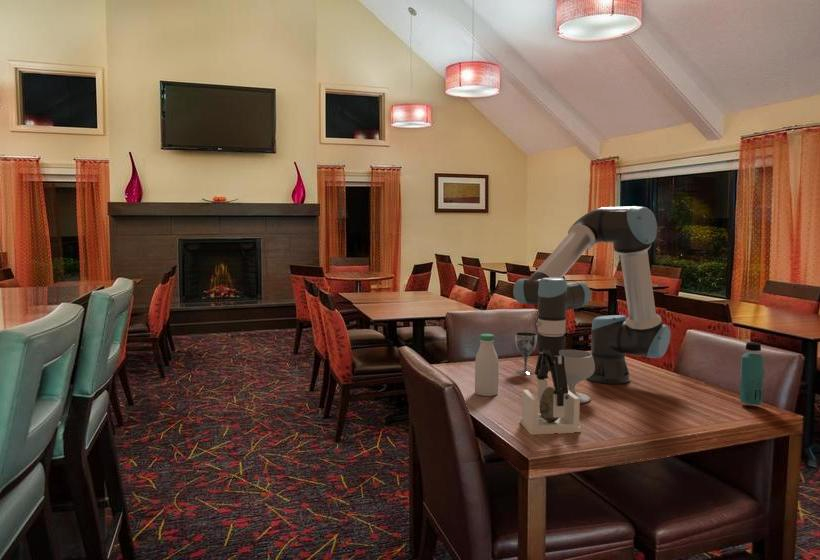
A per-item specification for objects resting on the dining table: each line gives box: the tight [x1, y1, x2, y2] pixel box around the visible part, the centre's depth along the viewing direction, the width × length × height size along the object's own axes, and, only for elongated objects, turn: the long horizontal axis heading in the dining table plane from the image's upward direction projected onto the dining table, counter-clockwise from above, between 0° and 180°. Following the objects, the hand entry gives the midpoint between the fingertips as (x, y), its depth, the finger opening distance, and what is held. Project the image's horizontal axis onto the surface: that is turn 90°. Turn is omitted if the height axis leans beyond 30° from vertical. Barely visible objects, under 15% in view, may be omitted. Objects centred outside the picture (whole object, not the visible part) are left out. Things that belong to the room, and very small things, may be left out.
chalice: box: [559, 349, 595, 404], centre depth 192 cm, size 14×14×15 cm
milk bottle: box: [474, 333, 499, 397], centre depth 198 cm, size 8×8×20 cm
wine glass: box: [514, 331, 538, 376], centre depth 225 cm, size 8×8×15 cm
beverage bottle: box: [738, 341, 765, 406], centre depth 183 cm, size 6×7×20 cm
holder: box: [519, 389, 582, 436], centre depth 166 cm, size 14×10×10 cm
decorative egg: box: [539, 386, 559, 422], centre depth 166 cm, size 6×6×10 cm
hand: (550, 409), depth 166 cm, fingers open, 13 cm apart
